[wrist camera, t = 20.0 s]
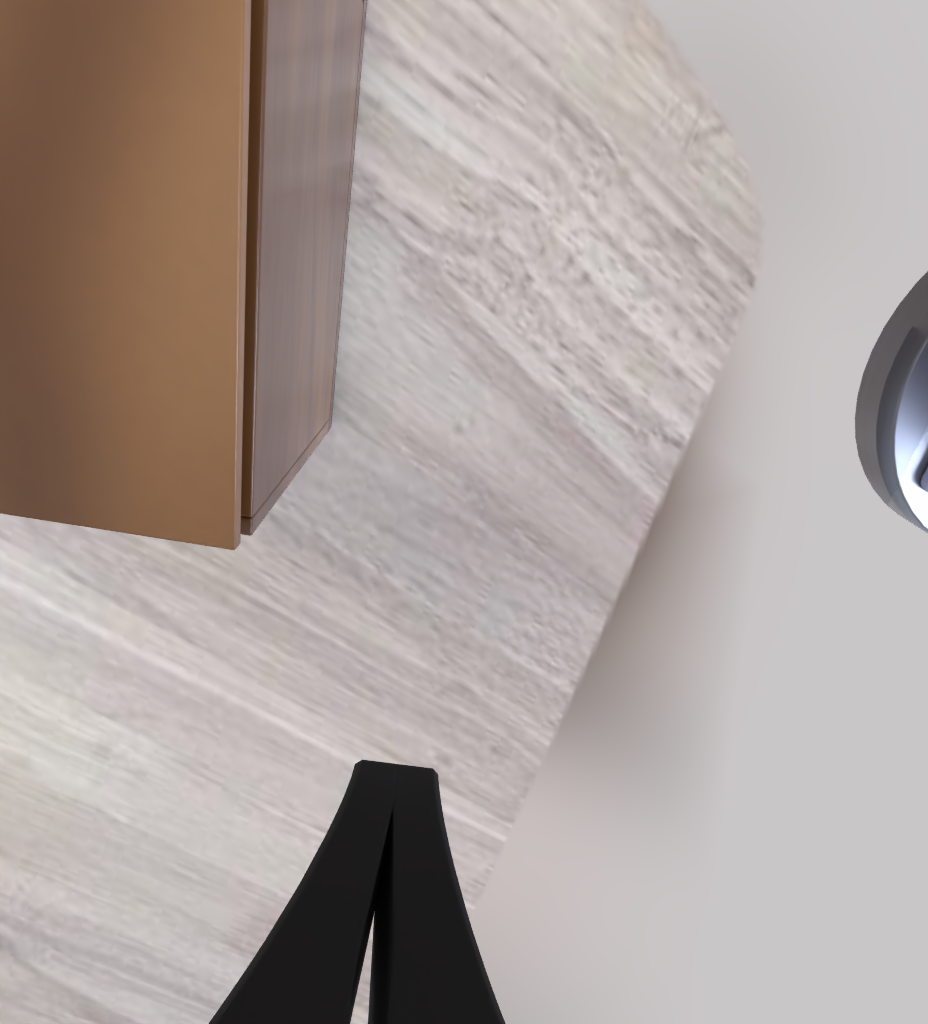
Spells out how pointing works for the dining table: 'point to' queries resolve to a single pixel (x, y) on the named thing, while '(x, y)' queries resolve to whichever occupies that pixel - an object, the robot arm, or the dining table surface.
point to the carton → (295, 233)
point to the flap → (124, 264)
